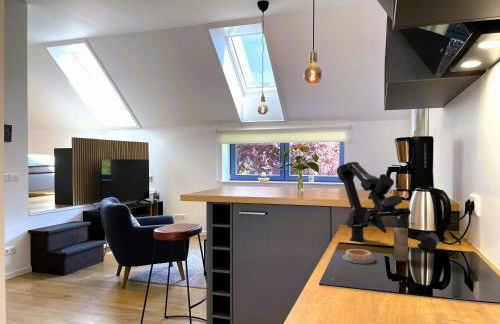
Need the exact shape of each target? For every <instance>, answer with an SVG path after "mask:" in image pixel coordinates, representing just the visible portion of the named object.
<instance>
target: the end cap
mask: <svg viewBox="0 0 500 324" xmlns="http://www.w3.org/2000/svg"><path fill="white" fill-rule="evenodd" d="M417 241H418V242H420V243H417V251H418V250H422V251H421V252H423V251H429V252H428V253H431V252H432V251H434V250H435V249H436V248H437V246H438V244H439V242H440V238H439V236H438V235H437V234H436V233H434V232H430V233H424V232H420V234H419V235H418V236H417Z"/></svg>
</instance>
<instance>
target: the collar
mask: <svg viewBox="0 0 500 324" xmlns="http://www.w3.org/2000/svg"><path fill="white" fill-rule="evenodd" d="M343 259H344V260H343ZM342 260H343V261H345V262H347V261H348V262H347V263H350V262H353V263H352V264H356V263H358V264H357V265H368V264H373V263H374V262H375V257H374V256H373V255H372V252H371V251H370V250H366V249H361V248H349V249H346V250H345V254H343V255H342Z"/></svg>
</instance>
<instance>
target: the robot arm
mask: <svg viewBox="0 0 500 324" xmlns="http://www.w3.org/2000/svg"><path fill="white" fill-rule="evenodd" d="M336 174H337V176H338V179H339V180H340V181H341V182H342V183H343V185H344V189H345V192H346V196H347V199H348V203H349V207H350V212H349V218H348V219H347V220H346V226H347V227H348V228H351V230H350V231H351V232H350V233H351V235H350V238H349V240H350V241H355V242H365V239H366V237H365V236H364V235H365V233H364V231H365V230H364V229H365V228H369V225H373V226H374V227H375V228H377V229H379V231H381V232H382V233H384V234H386V233H387V232H388V231H387V230H386V229H387V228H386V226H385V225H384V223H383V221H382V218H395V220H397V221H396V222H397V224H398V225H399V226H400V228H406V229H408V226H407V225H408V223H407V218H409V216H410V215H411V213H412V212H411V210H410V208H409V207H399V208H398V210H396V207H397V206H399V205H400V204H402V202H403V200H402V197H401V195H395V196H388V197H387V196H386V195H387V194H388V193H389V192H390V191H391V189H392V187H393V186H394V184H395V181H394V179H393V178H391V177H390V176H388V175H386V173H381V174H380V175H379V177H377V176H375V175H372V174H369V173H368V172H367V171H366V170H365V169H364V168H363V167H362V165H361V164H360V163H359V162H357V161H349V162H347V163H344V164H341V165H339V166H338V167H337V168H336ZM355 177H356V178H357V179H358V180H359V181H360V186H361V187H362V189H363V191H366V192H369V193H368V197H367V199H368V200H371V201H372V203H373V205H374V206H373V208H370V209H367V207H363V206H362V203H361V201H360V197H359V194H358V191H357V187H356V184H355V181H354V179H355ZM395 210H396V211H395Z"/></svg>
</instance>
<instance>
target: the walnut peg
mask: <svg viewBox="0 0 500 324" xmlns="http://www.w3.org/2000/svg"><path fill="white" fill-rule="evenodd" d="M393 260H395V261H398V262H408V260H409V229H408V228H407V229H406V228H401V227H394V228H393Z"/></svg>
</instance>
